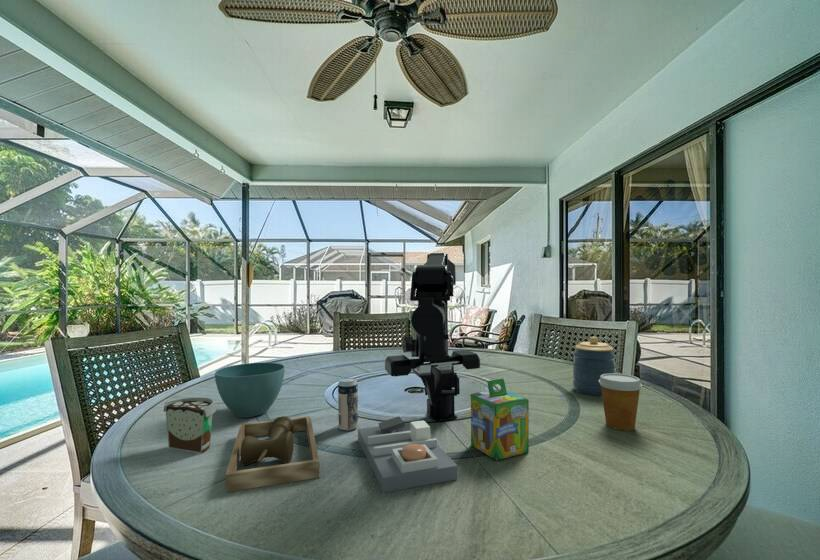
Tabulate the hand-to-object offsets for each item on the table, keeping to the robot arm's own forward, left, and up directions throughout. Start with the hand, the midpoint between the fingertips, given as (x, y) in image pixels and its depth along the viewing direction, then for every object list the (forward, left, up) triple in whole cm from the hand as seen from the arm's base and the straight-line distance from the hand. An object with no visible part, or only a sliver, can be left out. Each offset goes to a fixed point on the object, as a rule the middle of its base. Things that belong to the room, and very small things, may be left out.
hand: (433, 404), depth 81 cm
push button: (+6, +5, -8) cm, 11 cm away
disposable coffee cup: (-50, -2, -12) cm, 52 cm away
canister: (-67, -29, -12) cm, 74 cm away
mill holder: (+31, -13, -11) cm, 35 cm away
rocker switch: (+6, -11, -8) cm, 15 cm away
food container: (+48, -24, -12) cm, 55 cm away
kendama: (+31, -14, -12) cm, 36 cm away
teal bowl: (+38, -44, -12) cm, 59 cm away
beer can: (+14, -23, -12) cm, 29 cm away
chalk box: (-15, 0, -12) cm, 19 cm away
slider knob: (+2, -3, -9) cm, 9 cm away
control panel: (+6, -3, -11) cm, 13 cm away
